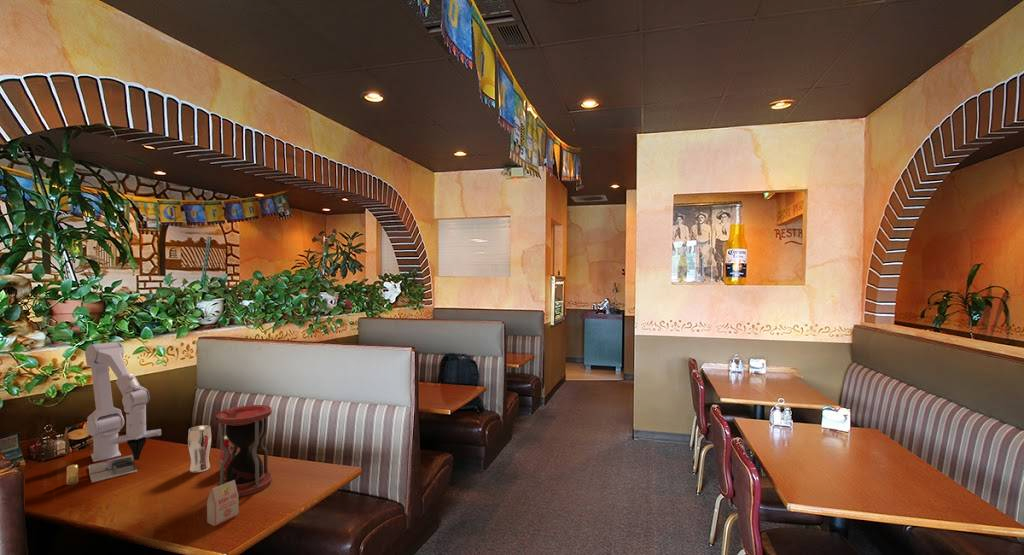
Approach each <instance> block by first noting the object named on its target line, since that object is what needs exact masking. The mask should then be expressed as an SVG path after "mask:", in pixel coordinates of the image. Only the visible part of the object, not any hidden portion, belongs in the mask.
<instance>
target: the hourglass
mask: <svg viewBox="0 0 1024 555" xmlns="http://www.w3.org/2000/svg"><path fill="white" fill-rule="evenodd" d="M272 411H273V409H272V407H271V406H269V405H264V404H249V405H241V406H235V407H231V408H226V409H224V410H222V411H219V412H218V413H217V414H216V415H215V422H216V423H218V424H219V447H220V446H221V448H222V449H223V450H224V451H225V458H224V461H223V462H222V464H221V466H220V467H219V469H220V470H219V476H220V477H219V482H218V483H217V484H216V487H217V486H220V485H222V484H225V483H227V482H230V481H232V480H235V483H236V488H237V491H238V497H244V496H248V495H251V494H254V493H255V494H256V493H258V492H260V491H262V490H264V489H266V488H268V487H269V486H270V485H271V484H272V482H273V476H272V473H270V472H269V471H268V469H269V468H268V464H269V463H268V462H269V461H268V457H269V456H268V454H269V453H268V450H267V448H265V446H264V440H265V438H266V436H267V433H268V418H269V417H270V416H271V415H272V414H273V412H272ZM262 431H263V432H262ZM261 433H262V434H261ZM225 434H226V435H227V437H228V439H229V440H230V441H231V442H232V443H233V451H232V454H231V461H230V462H229V464H228V466H227V470H226V472H225V471H224V467H225V465H226V463H227V461H228V460H229V456H230V452H229V449H228V448H227V447H225V445H224V436H225ZM260 435H261V436H260ZM252 445H253V446H252ZM251 446H252V448H251V449H250V447H251ZM258 446H259V449H260V450H262V452H263V460H262V458H261V456H260V455H259V454H257V448H258ZM238 447H239V448H240V451H239V452H238V453H237V454H236V451H237V449H238ZM235 454H236V455H235ZM225 473H226V475H225Z"/></svg>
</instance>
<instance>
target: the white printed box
mask: <svg viewBox="0 0 1024 555" xmlns="http://www.w3.org/2000/svg"><path fill="white" fill-rule="evenodd" d="M239 509H240V507H239V496H238V491H237V488H236V483H235V480H232V481H230V482H227V483H225V484H222V485H220V486H217V485H216V486H215V487H213V488H210V490H209V495H208V498H207V500H206V521H207V522H206V523H207V524H209V525H211V526H214V527H216V526H218V525H221V524H222V523H224V522H227V521H229V520H230V519H233V518H235V517H238V516H239V515H240V514H239Z"/></svg>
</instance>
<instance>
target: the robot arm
mask: <svg viewBox="0 0 1024 555" xmlns="http://www.w3.org/2000/svg"><path fill="white" fill-rule="evenodd" d="M124 351H125V348H124V345H123V343H122V341H121V342H120V341H119V340H116V341H111V342H104V343H95V344H94V343H93V344H88V345H87V347H86V349H85V351H84V356H85V363H86V366H87V367H90V368H91V377H92V378H91V380H92V387H93V396H94V403H95V404H94V405H95V409H94V411H93V412H92V413H90V414H89V415H88V416H87V421H86V422H87V423H86V431H87V434H88V435H89V436H91V437H93V438H92V439H93V441H92V442H93V453H91V454H90V457H91V459H92V463H93V462H94V463H96V462H100V461H104V460H110V459H115V458H119V457H122V454H121V451H120V450H119V445H120V444H123V443H127V445H128V446H129V448H130V450H131V452H132V455H133V461H139V460H140V459H141V458H140V457H141V453H142V450H143V448H144V446H145V445H146V443H147V438H151V437H159V436H162V429H161V428H159V429H158V428H157V429H151V430H147V404H148V403H149V402H150V398H151V395H150V392H149V390H148V389H147V388H145V387H144V386H141V384H140V383H139V381H138V379H137V377H136V376H135V374H133V373H130V372H129V370H128V367H127V365H126V363H125V360H124V358H123V357H124V353H125V352H124ZM109 368H110V369H111V371H112V372H113V374H114V375H115V376H116V381H115V384H116V386H117V387H118V389H119V391H120V393H121V395H122V399H121V401H122V405H123V411H124V412H125V413H126V414H125V418H126V419H125V418H124V416H123V413H122V410H121V409H120V408H117V407H115V406H114V402H113V396H112V395H113V393H112V385H111V376H110V370H109ZM125 421H126V423H125ZM124 426H125V427H126V428H125V432H126V433H125V434H124V435H122V436H119V432H121V429H123V427H124Z"/></svg>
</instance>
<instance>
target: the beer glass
mask: <svg viewBox="0 0 1024 555" xmlns="http://www.w3.org/2000/svg"><path fill="white" fill-rule="evenodd" d="M187 435H188V436H187V437H188V438H187V445H188V451H189V456H190V467H189V472H190V473H193V474H195V473H203V472H205V471H208V470H209V469H210V468H211V463H210V460H209V456H210V450H211V446H212V430H211V425H209V424H208V425H207V424H206V425H205V424H203V425H196V426H194V427H193V426H192V427H190V428H189V429H188V434H187Z"/></svg>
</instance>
